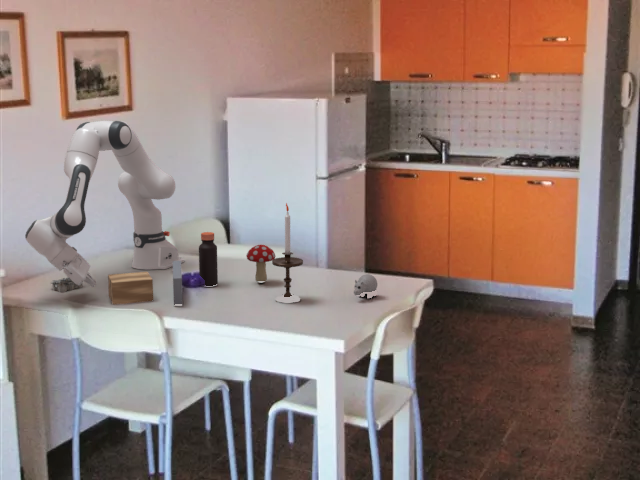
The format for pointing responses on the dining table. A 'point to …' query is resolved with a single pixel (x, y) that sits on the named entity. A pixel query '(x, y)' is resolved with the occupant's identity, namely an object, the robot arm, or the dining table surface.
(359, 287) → the round bodied animal figurine
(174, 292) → the slate board
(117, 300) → the oak block
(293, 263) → the candlestick
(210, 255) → the bottle
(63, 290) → the egg carton
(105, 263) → the dining table surface
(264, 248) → the decorative mushroom
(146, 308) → the dining table surface
